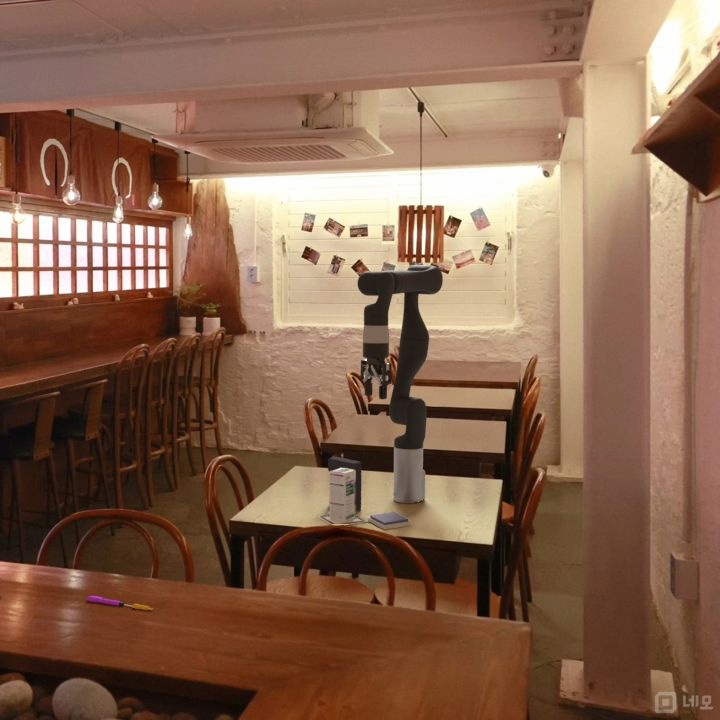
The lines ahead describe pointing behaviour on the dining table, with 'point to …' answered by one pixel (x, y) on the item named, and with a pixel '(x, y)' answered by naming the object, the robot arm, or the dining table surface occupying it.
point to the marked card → (352, 521)
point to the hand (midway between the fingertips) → (375, 397)
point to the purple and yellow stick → (116, 603)
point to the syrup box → (342, 494)
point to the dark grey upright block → (351, 464)
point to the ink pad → (389, 520)
